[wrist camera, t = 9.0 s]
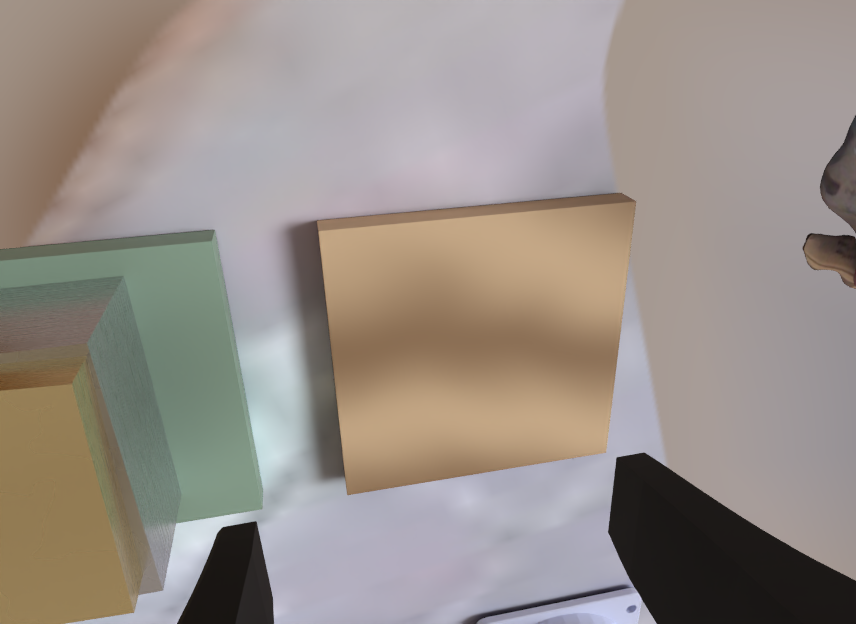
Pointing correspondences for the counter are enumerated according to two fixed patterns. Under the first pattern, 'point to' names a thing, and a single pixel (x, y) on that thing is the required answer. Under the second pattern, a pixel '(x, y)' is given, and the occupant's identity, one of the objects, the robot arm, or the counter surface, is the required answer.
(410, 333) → the stand
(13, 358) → the base
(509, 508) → the counter surface
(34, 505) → the cover
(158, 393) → the stand
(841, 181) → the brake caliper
